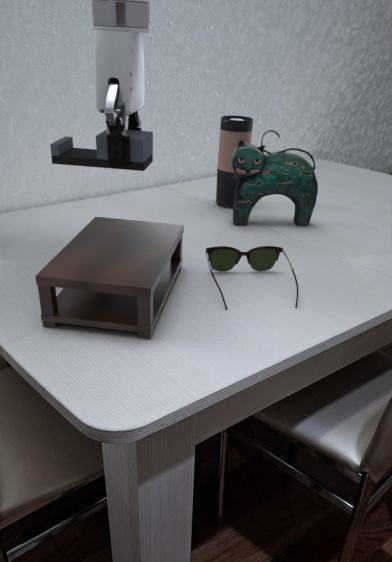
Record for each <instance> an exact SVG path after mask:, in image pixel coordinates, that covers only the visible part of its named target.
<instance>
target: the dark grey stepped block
mask: <svg viewBox="0 0 392 562" xmlns="http://www.w3.org/2000/svg"><path fill="white" fill-rule="evenodd" d="M127 136H130V165H128V166H122V165H110V164H109V163H108V151H107V134H106V129H105V130H103V131H102V132H100V133H98V134H96V135H95V147H96V149H95V148H84V147H83V148H82V147H74V138H73V136H67V135H66V136H64V137H62V138H59V139H58V140H55V141H54V142H51V143H50V144H49V146H50V155H51V164H52V165H61V166H62V165H63V166H76V167H88V168H101V169H113V170H114V169H115V170H125V171H137V172H139V171H140V172H144V171H145V170H146V169H148V167H149V166H150V165H151V164H152V163H153V161H154V132H153V131H148V130H141V131H136V130H128V131H127Z"/></svg>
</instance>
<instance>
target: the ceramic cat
mask: <svg viewBox="0 0 392 562" xmlns="http://www.w3.org/2000/svg"><path fill="white" fill-rule="evenodd" d="M268 133H274V134H275V135H277V137H278V138H280V137H281V135H280V133H278V132H277V131H276V130H273V129H269V130H266V131H265V132H263V134H262V136H261V142H260V145H259V146H256V145H254V144H253V143H251V144H248V143H244V142H243V140H241V141H240V142H239V143H238V146H237V147H236V148H235V150H234V151H233V155H232V167H233V170H234V172H235V173H236V174H237V175H238V176H239V177H238V179H237V184H236V189H235V193H234V205H233V208H232V217H231V218H232V219H231V220H232V223H233V224H234V226H247V225H248V224H249V223H248V222H249V218H250V215H251V213H252V210H253V209H254V207H255V205H256V204H257V203H258V202H259V201H260V200H261V199H262V198H265V197H267V196H273V195H281V196H284V197H286V198H288V199H289V200H290V201H291V202H292V203H293V205H294V214H293V223H294V224H295V226H298V227H307V226H309V225H310V222H311V219H312V216H313V212H314V210H315V207H316V204H317V198H318V193H319V184H318V180H317V176H316V172H315V170H316V162H315V158H314V156H313V155H312V154H311V153H310V152H309V151H307V150H305V149H303V148H299V147H298V148H296V147H289V148H285V149H283V150H279V151H274V152H271V151H268V150H266V145H264V144H263V139H264V138H265V137H264V136H265V135H266V134H268ZM289 151H297V152H300V153H304V154H306V155H308V156H309V158H310V159H311V161H312V164H313V165H312V164H311V163H310V162H309V161H308V160H307V159H306V158H304V157H302V156H301V155H299V154H296V153H293V152H289Z"/></svg>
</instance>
